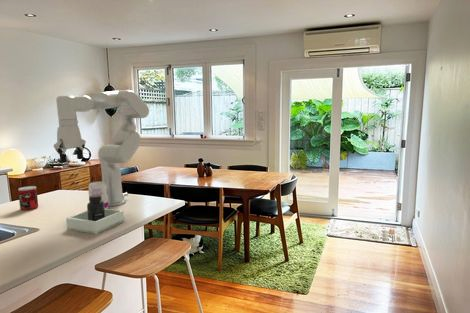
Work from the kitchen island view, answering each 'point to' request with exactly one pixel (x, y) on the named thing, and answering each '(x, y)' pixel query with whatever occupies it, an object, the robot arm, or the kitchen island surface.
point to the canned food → (28, 198)
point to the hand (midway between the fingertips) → (72, 160)
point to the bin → (95, 227)
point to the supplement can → (99, 191)
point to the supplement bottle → (95, 208)
